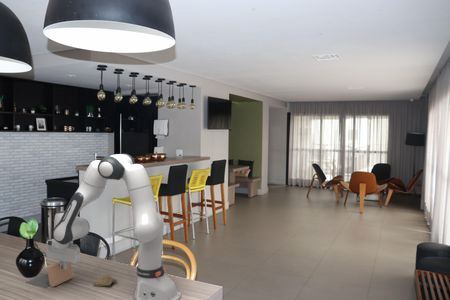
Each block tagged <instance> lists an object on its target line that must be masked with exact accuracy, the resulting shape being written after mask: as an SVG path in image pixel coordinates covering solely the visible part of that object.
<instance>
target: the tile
mask: <svg viewBox="0 0 450 300" xmlns="http://www.w3.org/2000/svg"><path fill="white" fill-rule="evenodd" d="M63 263H64V261H63ZM64 264H65V263H64ZM71 264H72V263H68V265H67V269H65V270H64V269H60V265H59V262H58V261H57V262H55V263H53V264H51V265H48V266H46V272H47V273H48V278H49V283H50V286H49V287H52V288H53V287H56V286H58V285H60V284H62V283H64V282H67V281H69V280H71V279H73V278H74V273H73V270H72V269H73V267H72V265H71Z"/></svg>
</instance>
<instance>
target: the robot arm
mask: <svg viewBox="0 0 450 300" xmlns="http://www.w3.org/2000/svg"><path fill="white" fill-rule="evenodd" d="M108 180H117V181H119V180H123V181H124V182H125V185H126V189H127V193H128V197H129V199H130V203H131V210H132V218H133V219H132V220H133V226H134V236H135V238H136V240H137V241H139V243H138V249H137V266H136V276H137V280H136V287H135V291H134V295H133V297H134V298H135V300H180V299H181V298H182V292H180V291H178V290H177V286H176V282H174V281H173V280H172V279H171V278H170V277H169V276H168V275H167V274H166V273H165V271H166V270H167V267H164V266H163V264H162V246H163V239H164V238H163V237H164V226H165V225H164V221H165V220H164V217H163V215H162V214H161V213H160V212H158V211H157V210H156V209H157V208H156V198H155V194H154V191H153V187H152V184H151V180H150V177H149V175H148V172H147V170H146V169H145V167H144V165H142V164H141V163H140V164H139V163H136V162H135V159H134V158H133V157H132V155H130V154H128V153H119V154H118V153H116V154H111V155H109V156H105V157H103V158H102V159H95V160H93V161H91V162H90V163H89V165H88V167H87V168H86V170H85V172H84V174H83V177H82V180H81V182H80V185H79V186H78V188H77V190H76V191H75V192H74V194H73V195H72V197H71V198H70V200H69V202H68V204H67V206H66V208H65V210H62V211H58V212H56V213H55V215H54V220H53V223H54V224H53V232H52V236H53V238H51V239H49V240H46V249H45V250H46V257H47V259H50V260H56V261H57V262H59V265H60V269H64V270H65V269H67V265H68V263H71V264H74V265H75V264H78V263H80V262H81V260H82V255H81V250H80V246H79V245H78V244H75V243H74V241H75V240H78V239H81V238H83V237H85V236H87V235H88V234H89V232H90V223H89V220H87V219H86V218H84V217H80V216H79V214H80V212H81V211H82V209H84V207H86V206H87V205H90V204H91V203H93V202H94V201H96V200H97V199H99V198H100V197H101V196H102V195H103V192H104V191H105V188H106V185H107V181H108ZM63 261H64V263H65V264H64V263H63Z"/></svg>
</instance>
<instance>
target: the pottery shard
mask: <svg viewBox="0 0 450 300" xmlns="http://www.w3.org/2000/svg"><path fill="white" fill-rule="evenodd" d="M114 282H115V283H116V282H117V279H116V278H114V277H112V276H111V275H110V274H105V275H101V276H99V277H98V278H97V279H96V280H95V281H94V283H93V286H95V287H96V286H97V287H109V286H111V284H113V283H114Z"/></svg>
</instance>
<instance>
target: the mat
mask: <svg viewBox="0 0 450 300" xmlns="http://www.w3.org/2000/svg"><path fill="white" fill-rule="evenodd" d="M25 283H26V284H30V285H34V286H36V287H37V286H38V287H41V288H45V289H46V288H48V287H50V283H49V278H48V272H47V273H44V274H42V275H39V276H37V277H34V278H33V279H30V280H26V281H25Z"/></svg>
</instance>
